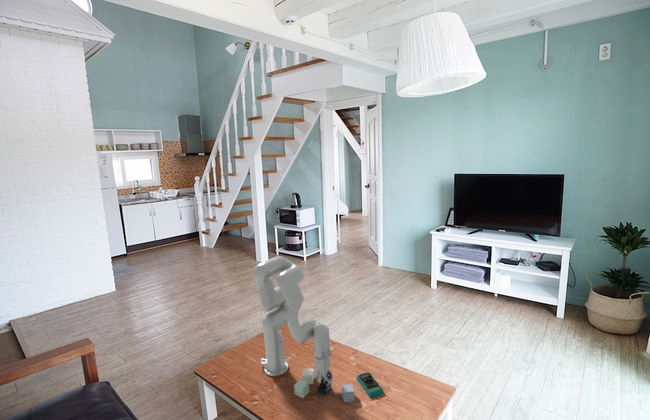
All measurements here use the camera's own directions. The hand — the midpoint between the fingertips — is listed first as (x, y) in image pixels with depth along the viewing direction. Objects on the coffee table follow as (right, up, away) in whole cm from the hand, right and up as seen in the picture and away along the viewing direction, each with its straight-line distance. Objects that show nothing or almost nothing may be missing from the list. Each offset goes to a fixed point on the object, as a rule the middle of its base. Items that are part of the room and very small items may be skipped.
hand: (324, 386), depth 162 cm
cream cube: (-8, -1, +8) cm, 11 cm away
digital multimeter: (+22, -1, +2) cm, 22 cm away
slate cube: (+11, -3, -5) cm, 12 cm away
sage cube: (-11, -3, 0) cm, 11 cm away
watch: (0, -2, 0) cm, 2 cm away
